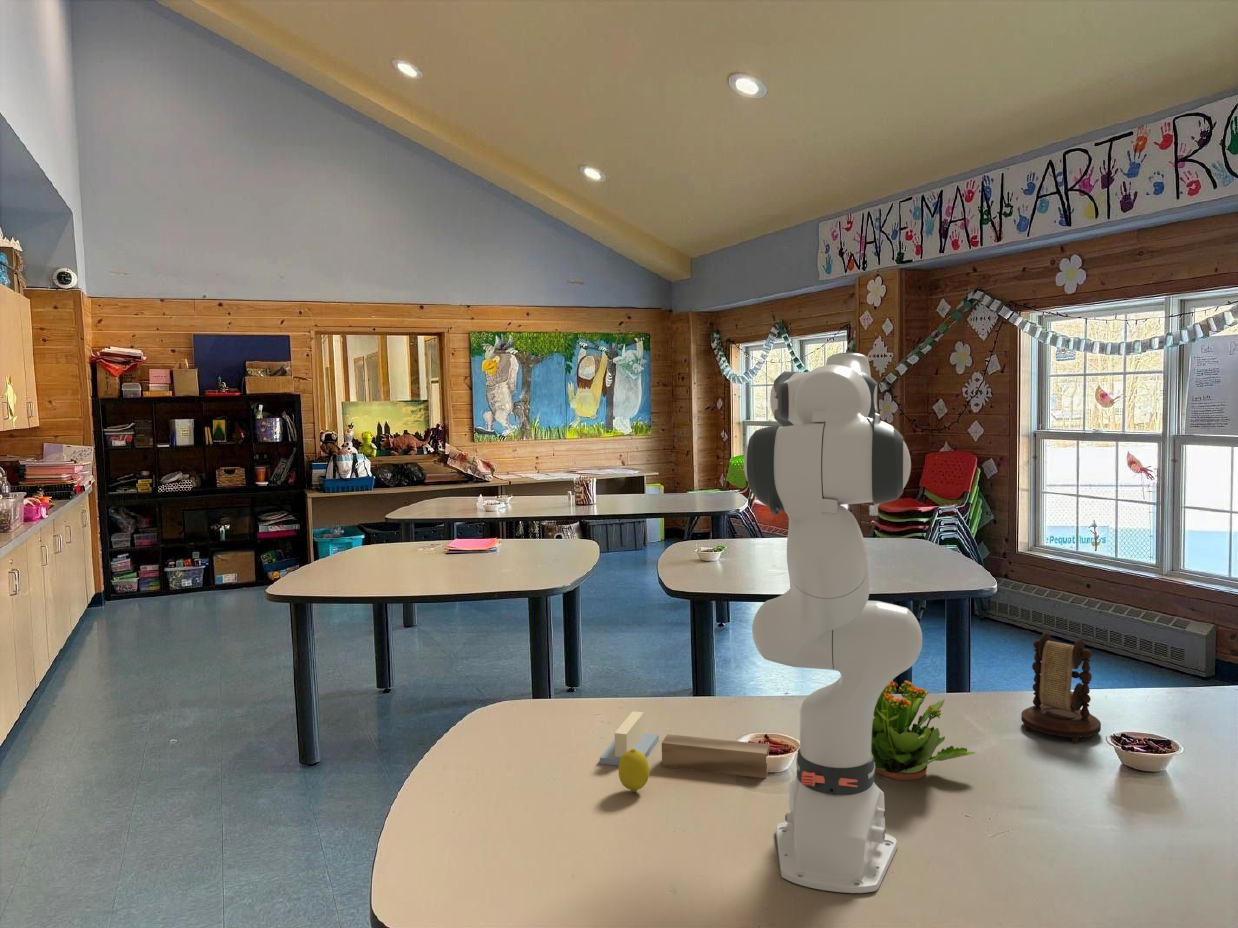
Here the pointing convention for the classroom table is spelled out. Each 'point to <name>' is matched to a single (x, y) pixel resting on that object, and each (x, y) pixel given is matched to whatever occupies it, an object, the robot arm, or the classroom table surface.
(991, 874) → the classroom table surface
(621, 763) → the lemon
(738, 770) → the walnut bar
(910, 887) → the classroom table surface
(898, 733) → the potted flower
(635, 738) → the fulcrum
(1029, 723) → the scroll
